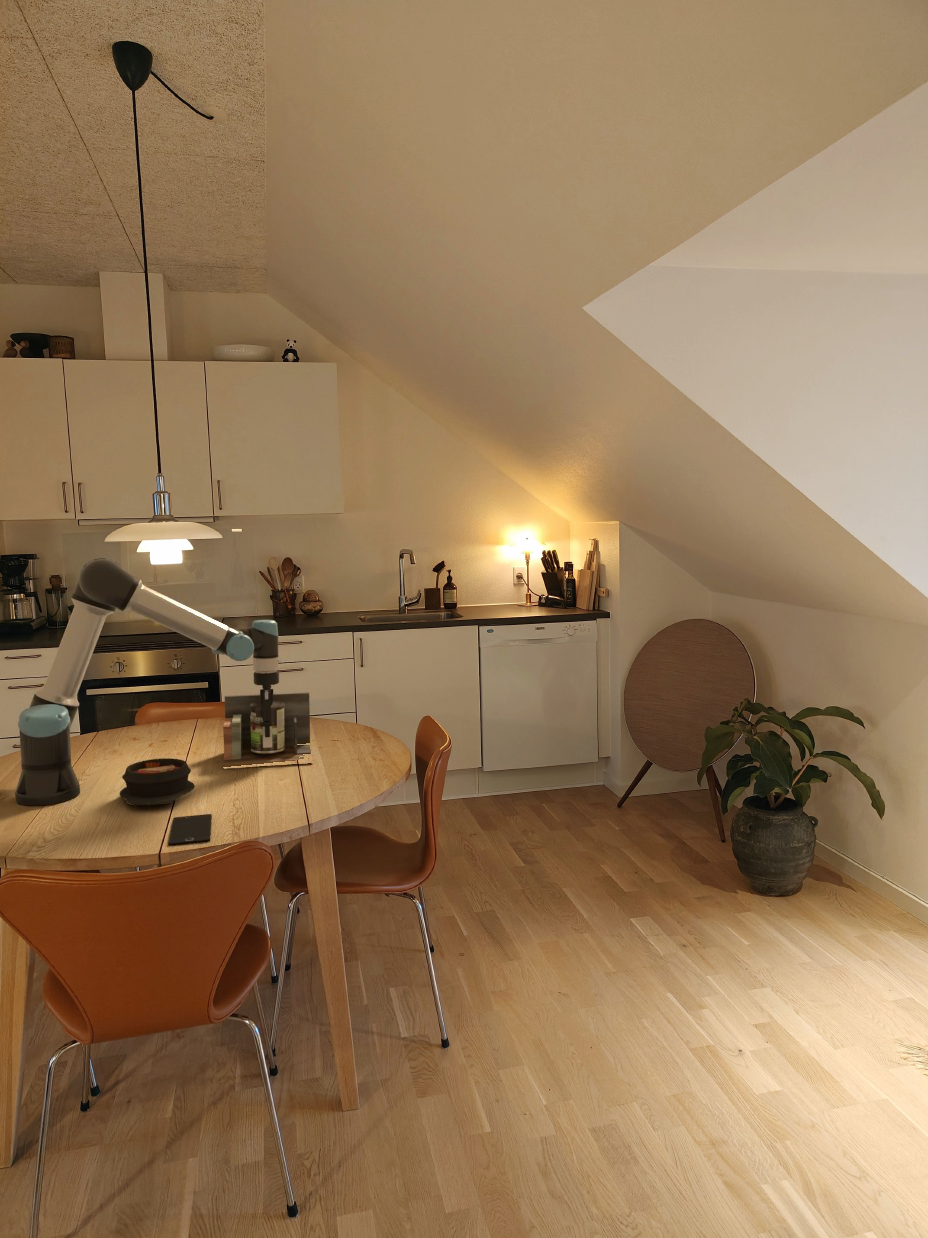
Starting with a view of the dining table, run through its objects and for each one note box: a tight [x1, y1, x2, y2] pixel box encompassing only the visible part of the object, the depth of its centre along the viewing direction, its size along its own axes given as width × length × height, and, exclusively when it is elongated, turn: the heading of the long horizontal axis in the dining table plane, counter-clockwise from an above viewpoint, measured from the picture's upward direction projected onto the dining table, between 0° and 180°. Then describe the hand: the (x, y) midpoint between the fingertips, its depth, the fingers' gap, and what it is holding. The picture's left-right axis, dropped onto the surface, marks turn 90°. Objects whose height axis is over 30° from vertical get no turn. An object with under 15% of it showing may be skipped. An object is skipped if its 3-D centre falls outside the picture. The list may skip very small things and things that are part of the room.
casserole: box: [119, 757, 196, 806], centre depth 216 cm, size 25×19×8 cm
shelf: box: [222, 691, 312, 768], centre depth 253 cm, size 20×26×18 cm
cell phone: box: [168, 813, 213, 847], centre depth 192 cm, size 9×18×1 cm, turn 16°
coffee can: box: [250, 701, 285, 754], centre depth 252 cm, size 10×10×14 cm
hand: (267, 742), depth 252 cm, fingers closed on coffee can, 10 cm apart
